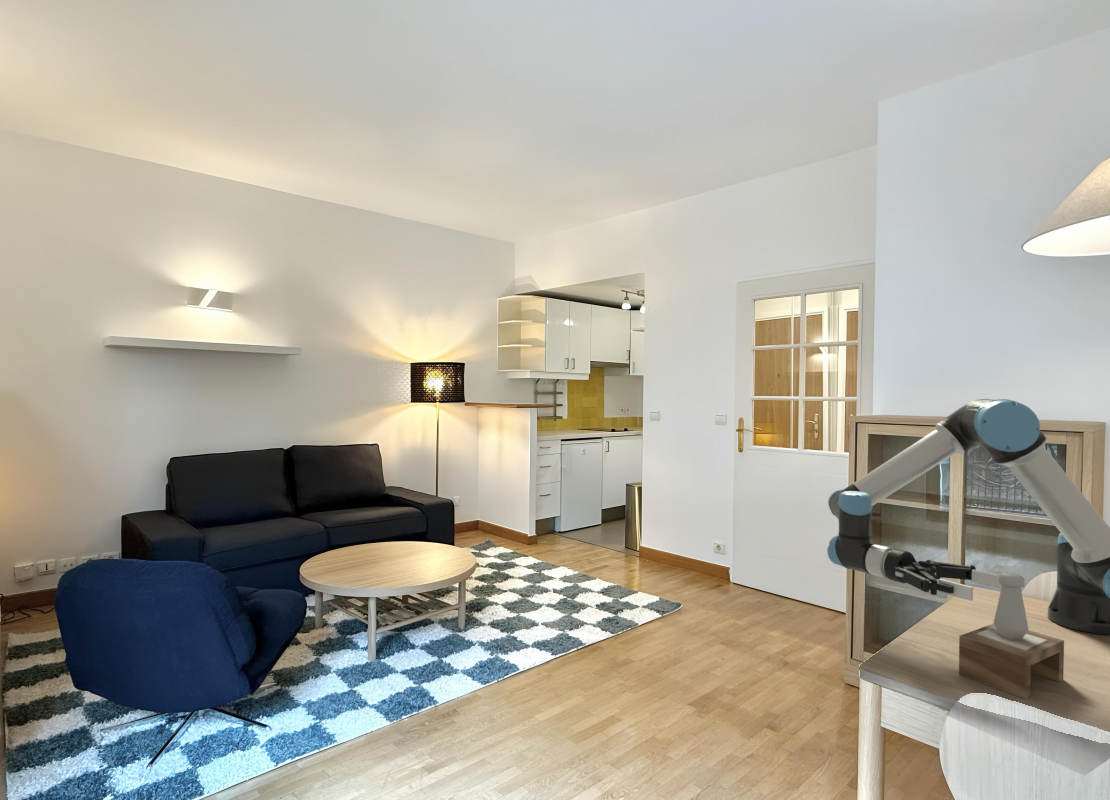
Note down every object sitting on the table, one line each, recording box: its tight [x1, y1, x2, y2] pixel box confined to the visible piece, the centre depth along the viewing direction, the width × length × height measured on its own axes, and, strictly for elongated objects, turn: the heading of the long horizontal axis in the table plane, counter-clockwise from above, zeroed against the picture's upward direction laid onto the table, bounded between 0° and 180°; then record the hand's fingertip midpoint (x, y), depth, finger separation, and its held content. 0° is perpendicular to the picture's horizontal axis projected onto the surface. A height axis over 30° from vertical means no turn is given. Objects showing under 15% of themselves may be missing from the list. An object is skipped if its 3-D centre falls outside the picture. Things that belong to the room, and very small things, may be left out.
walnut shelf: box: [958, 622, 1065, 699], centre depth 130 cm, size 16×12×8 cm
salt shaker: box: [993, 571, 1029, 641], centre depth 130 cm, size 6×6×13 cm
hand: (989, 588), depth 133 cm, fingers open, 13 cm apart
